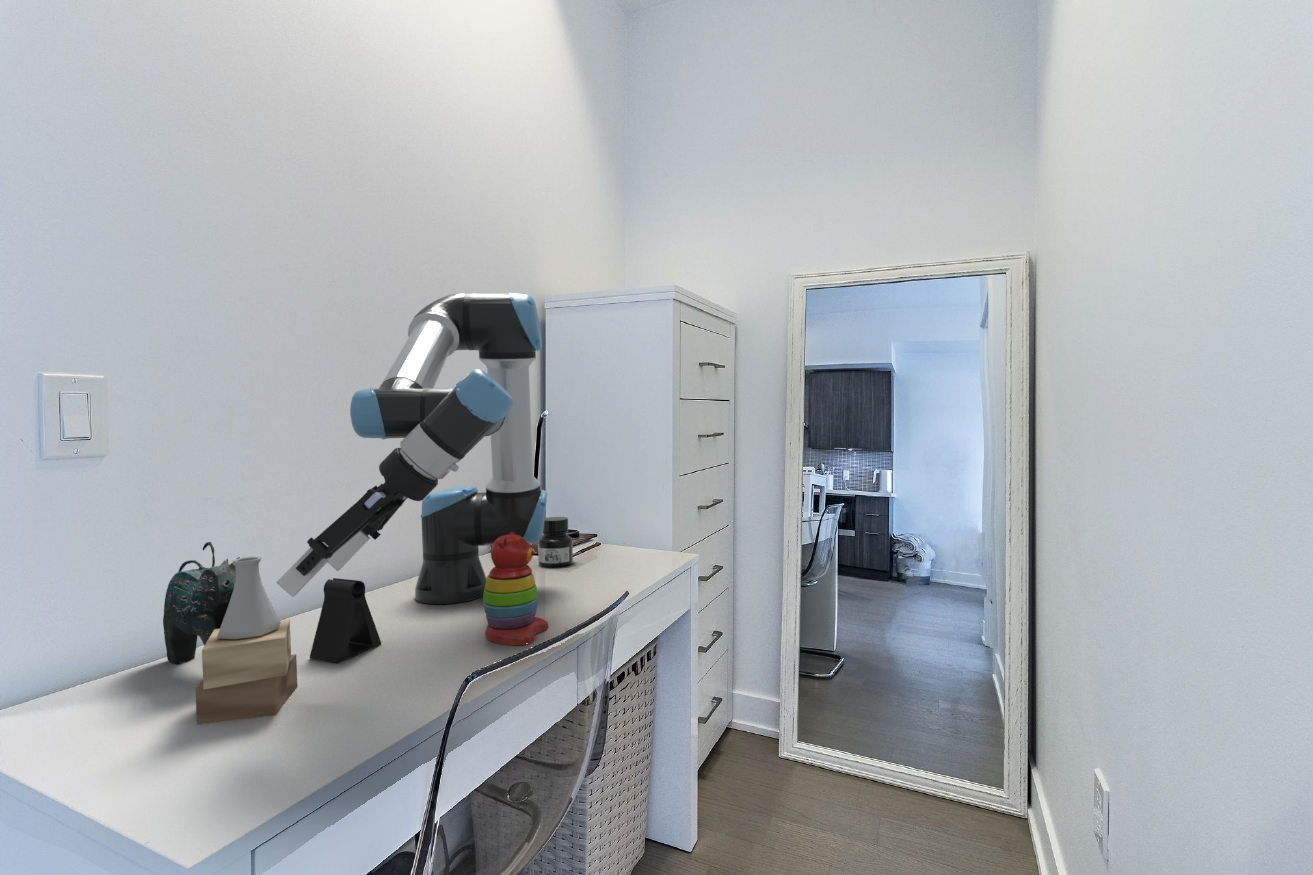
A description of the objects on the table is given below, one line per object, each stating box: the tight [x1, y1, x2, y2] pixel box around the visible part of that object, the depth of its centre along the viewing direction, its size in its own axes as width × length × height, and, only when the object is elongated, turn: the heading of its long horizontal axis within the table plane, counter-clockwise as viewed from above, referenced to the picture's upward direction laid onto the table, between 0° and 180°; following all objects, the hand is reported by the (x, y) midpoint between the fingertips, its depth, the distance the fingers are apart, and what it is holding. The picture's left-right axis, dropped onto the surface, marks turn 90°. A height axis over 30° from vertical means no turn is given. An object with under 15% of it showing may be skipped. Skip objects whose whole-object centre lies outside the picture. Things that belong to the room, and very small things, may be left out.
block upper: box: [201, 618, 292, 690], centre depth 85 cm, size 9×9×5 cm
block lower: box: [194, 654, 298, 725], centre depth 85 cm, size 9×9×5 cm
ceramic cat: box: [162, 541, 241, 665], centre depth 97 cm, size 20×6×20 cm, turn 59°
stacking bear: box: [482, 532, 549, 646], centre depth 111 cm, size 11×10×18 cm
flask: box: [217, 556, 281, 639], centre depth 85 cm, size 7×7×10 cm
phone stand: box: [309, 577, 382, 664], centre depth 104 cm, size 9×6×12 cm, turn 158°
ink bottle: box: [537, 516, 574, 568], centre depth 165 cm, size 10×9×12 cm
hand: (310, 576), depth 86 cm, fingers open, 13 cm apart
